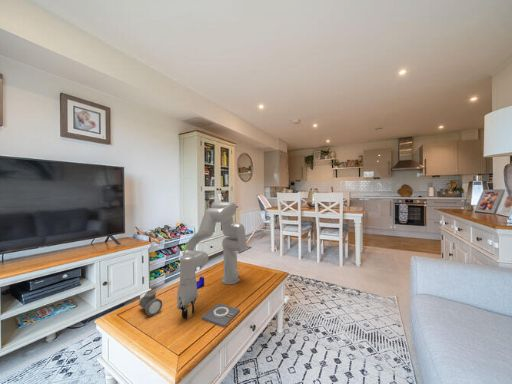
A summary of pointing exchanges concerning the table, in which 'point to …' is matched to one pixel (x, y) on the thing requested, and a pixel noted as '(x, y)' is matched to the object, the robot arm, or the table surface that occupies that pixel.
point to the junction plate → (220, 314)
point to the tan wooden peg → (189, 310)
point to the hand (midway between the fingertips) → (188, 314)
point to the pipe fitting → (151, 303)
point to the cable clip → (200, 282)
